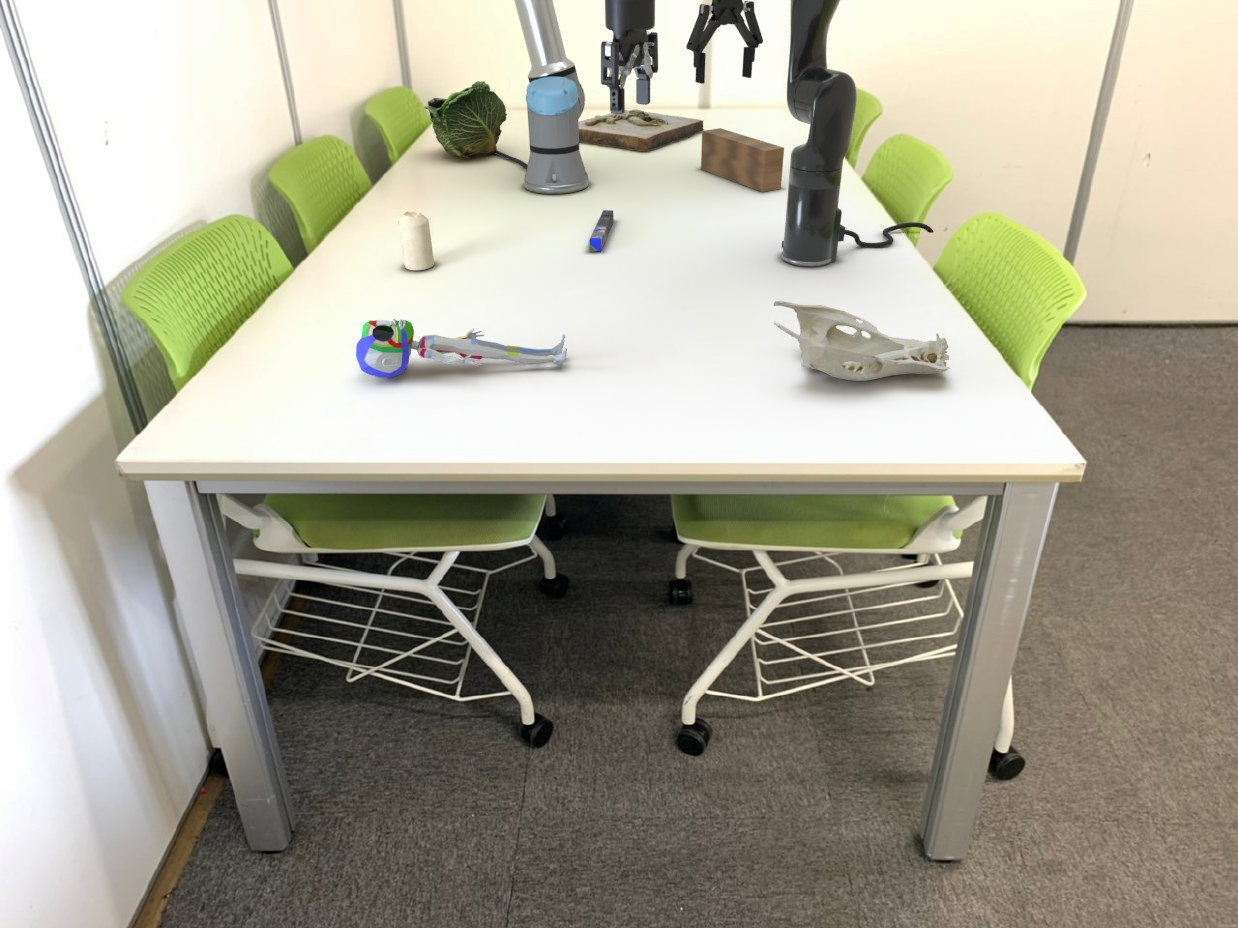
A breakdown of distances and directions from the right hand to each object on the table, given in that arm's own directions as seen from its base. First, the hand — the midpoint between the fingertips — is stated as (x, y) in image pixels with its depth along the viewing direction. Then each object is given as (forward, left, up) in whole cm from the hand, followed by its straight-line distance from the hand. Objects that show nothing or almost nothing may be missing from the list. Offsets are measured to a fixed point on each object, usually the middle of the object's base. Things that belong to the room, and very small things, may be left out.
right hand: (630, 108), depth 142 cm
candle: (+35, -23, -30) cm, 52 cm away
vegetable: (+14, -107, -30) cm, 112 cm away
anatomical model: (-22, +41, -30) cm, 55 cm away
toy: (+33, +23, -30) cm, 50 cm away
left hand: (-43, -70, -9) cm, 82 cm away
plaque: (-34, -114, -30) cm, 123 cm away
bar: (-45, -61, -30) cm, 82 cm away
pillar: (-2, -29, -30) cm, 42 cm away
